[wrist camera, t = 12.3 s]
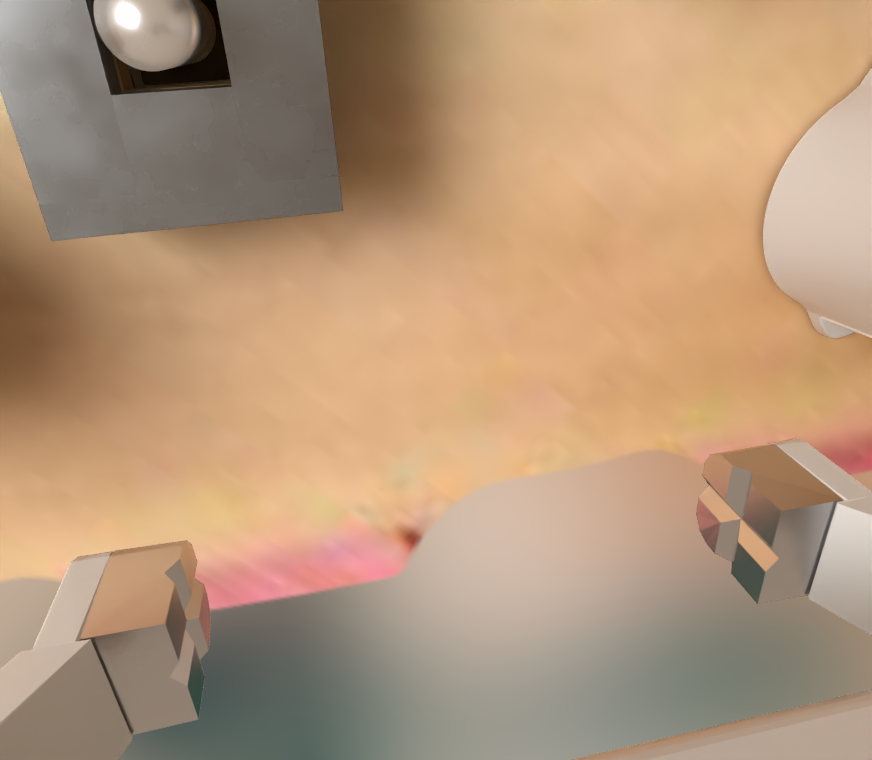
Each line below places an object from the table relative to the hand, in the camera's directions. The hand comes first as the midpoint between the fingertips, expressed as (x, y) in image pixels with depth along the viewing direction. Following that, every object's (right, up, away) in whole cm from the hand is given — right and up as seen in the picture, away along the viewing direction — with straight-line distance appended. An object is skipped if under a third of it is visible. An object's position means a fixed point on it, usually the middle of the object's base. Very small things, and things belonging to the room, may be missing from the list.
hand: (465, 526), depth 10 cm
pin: (-12, +19, +20) cm, 30 cm away
